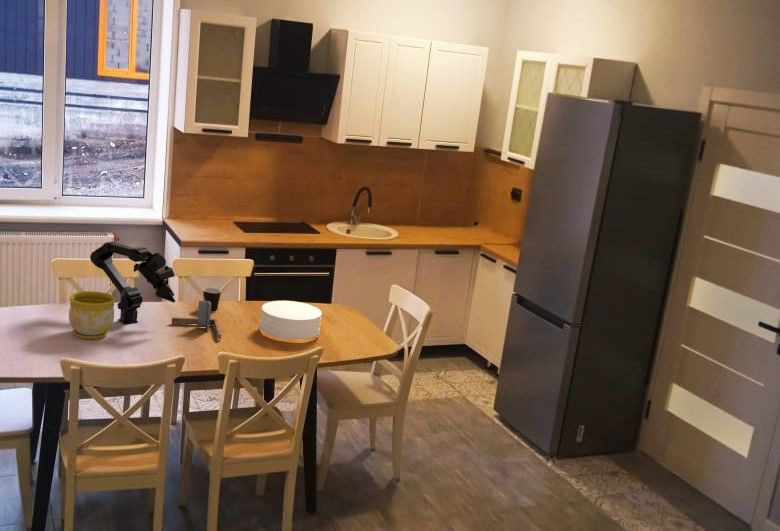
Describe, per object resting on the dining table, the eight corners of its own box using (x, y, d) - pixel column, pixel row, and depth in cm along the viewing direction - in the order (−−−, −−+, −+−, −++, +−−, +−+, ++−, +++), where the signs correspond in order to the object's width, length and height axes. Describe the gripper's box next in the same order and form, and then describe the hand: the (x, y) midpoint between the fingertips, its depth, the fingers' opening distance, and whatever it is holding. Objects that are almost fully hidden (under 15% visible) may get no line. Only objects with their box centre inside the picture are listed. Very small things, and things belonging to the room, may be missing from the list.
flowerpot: (59, 337, 329) (60, 299, 325) (81, 324, 346) (83, 288, 342) (100, 344, 327) (102, 306, 323) (120, 331, 344) (122, 295, 340)
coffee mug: (217, 313, 385) (219, 294, 383) (199, 311, 385) (201, 291, 383) (222, 306, 397) (224, 287, 394) (205, 304, 397) (207, 285, 394)
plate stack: (247, 331, 367) (249, 308, 365) (282, 319, 392) (284, 297, 389) (296, 348, 355) (299, 324, 353) (330, 334, 380) (333, 311, 377)
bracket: (208, 331, 359) (211, 304, 356) (197, 331, 358) (199, 304, 355) (207, 328, 364) (210, 301, 361) (196, 327, 362) (199, 300, 359)
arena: (220, 340, 350) (221, 334, 350) (173, 339, 344) (174, 333, 343) (216, 325, 369) (216, 319, 368) (171, 323, 363) (172, 317, 362)
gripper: (165, 267, 341) (189, 293, 347) (163, 256, 358) (186, 281, 364) (145, 284, 340) (169, 309, 346) (144, 272, 357) (167, 296, 363)
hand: (174, 298), depth 355 cm, fingers open, 9 cm apart
